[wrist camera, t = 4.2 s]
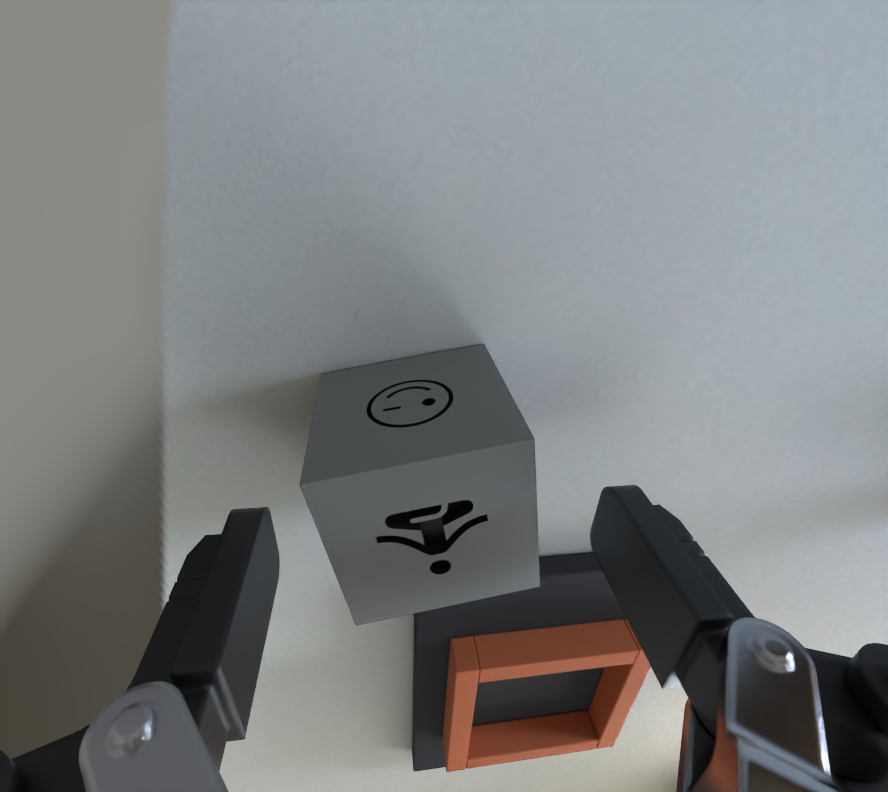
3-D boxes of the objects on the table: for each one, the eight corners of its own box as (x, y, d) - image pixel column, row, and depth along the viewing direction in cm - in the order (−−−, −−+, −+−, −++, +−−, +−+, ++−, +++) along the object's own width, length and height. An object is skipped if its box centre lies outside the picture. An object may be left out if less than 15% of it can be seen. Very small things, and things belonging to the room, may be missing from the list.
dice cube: (483, 343, 14) (534, 438, 10) (495, 468, 17) (540, 586, 12) (321, 373, 14) (299, 484, 9) (359, 495, 16) (356, 625, 12)
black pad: (412, 751, 27) (415, 805, 25) (414, 567, 19) (420, 624, 17) (604, 723, 28) (623, 772, 26) (683, 543, 20) (719, 592, 18)
